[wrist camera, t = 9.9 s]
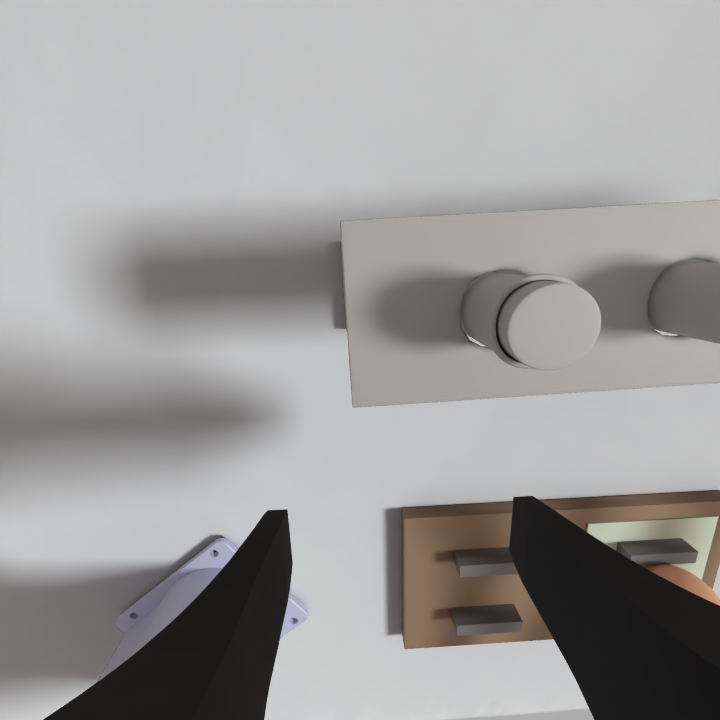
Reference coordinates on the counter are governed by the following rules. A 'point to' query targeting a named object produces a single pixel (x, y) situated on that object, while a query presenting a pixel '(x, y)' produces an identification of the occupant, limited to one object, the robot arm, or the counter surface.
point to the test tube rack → (531, 302)
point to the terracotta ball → (685, 581)
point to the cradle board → (500, 577)
